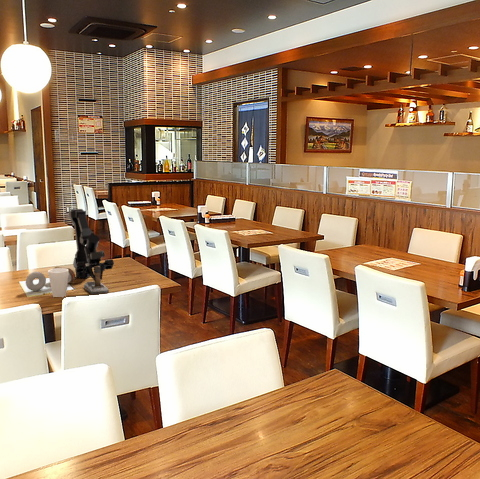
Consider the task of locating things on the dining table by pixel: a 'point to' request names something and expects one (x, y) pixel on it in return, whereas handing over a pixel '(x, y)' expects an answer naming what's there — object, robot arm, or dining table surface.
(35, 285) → the donut
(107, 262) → the robot arm
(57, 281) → the foam cup
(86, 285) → the rail base
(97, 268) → the slide handle
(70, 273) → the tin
